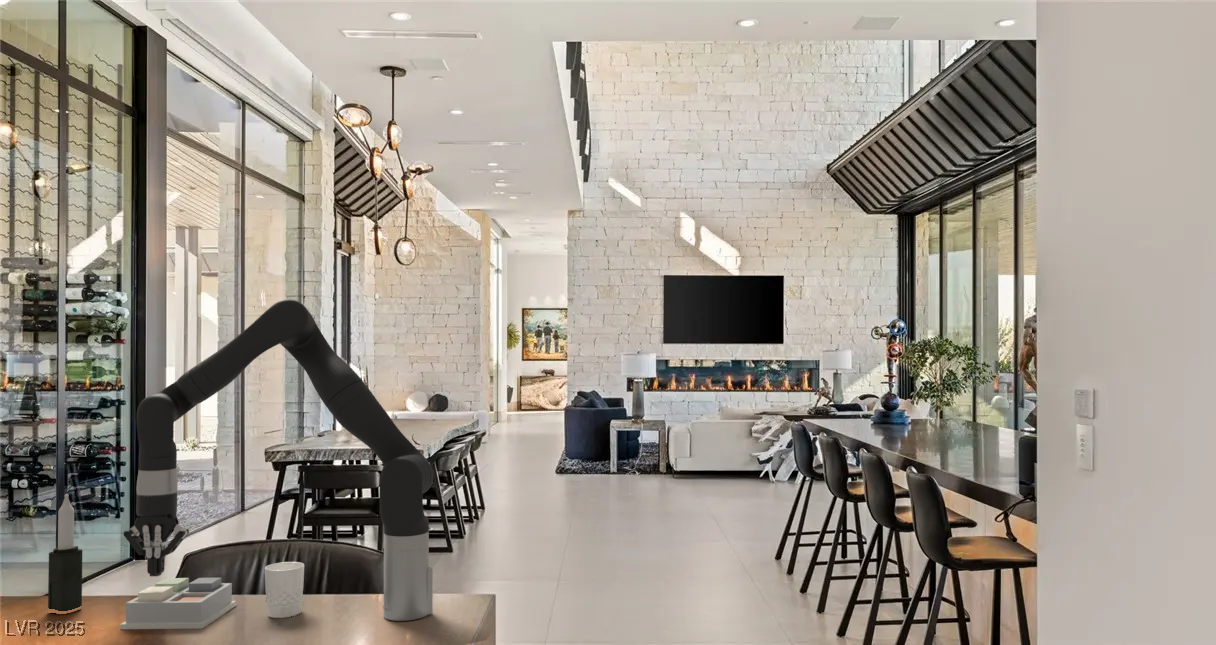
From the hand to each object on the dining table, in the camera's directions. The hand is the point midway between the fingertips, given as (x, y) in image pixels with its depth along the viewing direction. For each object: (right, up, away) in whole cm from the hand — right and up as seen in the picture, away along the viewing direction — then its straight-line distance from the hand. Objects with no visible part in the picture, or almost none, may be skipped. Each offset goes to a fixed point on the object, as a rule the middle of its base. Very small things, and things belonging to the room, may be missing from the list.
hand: (155, 575), depth 183 cm
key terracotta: (+7, -8, 0) cm, 11 cm away
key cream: (0, -6, 0) cm, 6 cm away
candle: (-23, -10, +8) cm, 27 cm away
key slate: (+7, -6, +7) cm, 12 cm away
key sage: (0, -6, +7) cm, 9 cm away
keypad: (+4, -10, +3) cm, 11 cm away
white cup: (+25, -10, +5) cm, 27 cm away
